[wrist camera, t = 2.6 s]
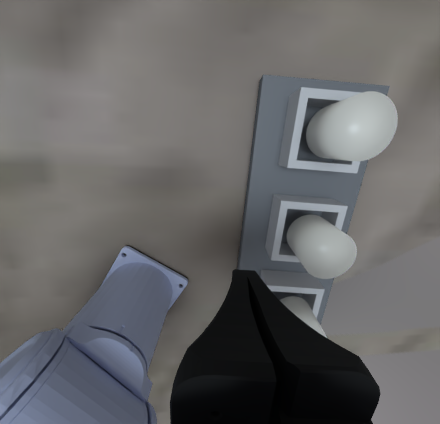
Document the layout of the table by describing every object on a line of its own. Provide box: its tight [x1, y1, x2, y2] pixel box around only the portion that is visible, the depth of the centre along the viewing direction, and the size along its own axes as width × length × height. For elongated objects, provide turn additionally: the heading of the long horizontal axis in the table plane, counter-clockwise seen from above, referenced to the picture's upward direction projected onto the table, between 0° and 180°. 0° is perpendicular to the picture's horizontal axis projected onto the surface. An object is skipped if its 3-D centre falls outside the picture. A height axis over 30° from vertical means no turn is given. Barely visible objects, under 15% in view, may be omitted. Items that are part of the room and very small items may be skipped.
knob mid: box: [287, 214, 357, 279], centre depth 15 cm, size 4×4×4 cm
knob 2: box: [306, 91, 398, 161], centre depth 13 cm, size 4×4×4 cm
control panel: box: [237, 75, 389, 324], centre depth 19 cm, size 24×10×4 cm, turn 175°
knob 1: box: [280, 296, 327, 338], centre depth 18 cm, size 4×4×4 cm
